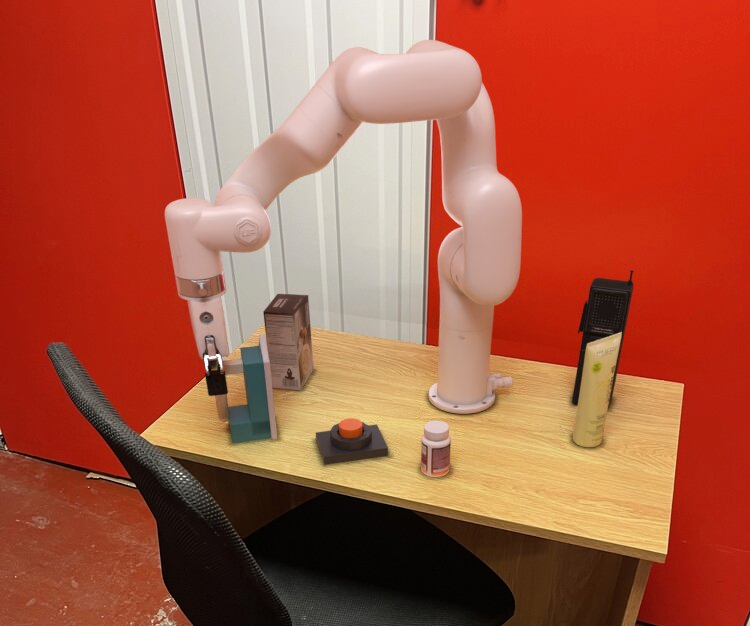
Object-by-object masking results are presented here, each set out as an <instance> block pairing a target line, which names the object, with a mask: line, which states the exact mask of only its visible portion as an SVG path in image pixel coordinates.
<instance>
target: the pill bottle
mask: <svg viewBox="0 0 750 626" xmlns="http://www.w3.org/2000/svg"><path fill="white" fill-rule="evenodd" d="M449 434H450V425H449V423H448V422H445V421H443V420H439V419H438V420H437V419H435V420H430V421H427V422H426V423H424V426H423V435H422V436H421V438H420V471H421V472H422V474H424V475H425V476H426V477H430V478H442V477H444V476H446V475H447V474H449V471H450V466H451V447H452V446H451V445H452V439H451V436H450V435H449Z"/></svg>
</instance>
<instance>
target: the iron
mask: <svg viewBox="0 0 750 626" xmlns="http://www.w3.org/2000/svg"><path fill="white" fill-rule="evenodd" d="M239 350H240V358H235V359H225V360H222V365H223V371H225V375H226V376H229V375H238V374H243V383H244V390H245V397H246V404H239V405H231V406H229V400H228V393H227V394H224V395H216V396H214V399H215V405H216V411H217V418H218V420H219V421H220V422H221V423H222V422H223V423H226V422H228V424H229V428H230V434H231V435H230V436H231V441H232V444H239V443H247V442H254V441H262V440H270V439H271V440H272V441H273V440H278V431H277V421H276V409H275V402H274V401H275V399H274V392H273V391H274V390H273V388H272V380H271V371H270V362H269V356H268V350H267V341H266V334H260V335H258V345H251V346H243V347H240V348H239ZM217 362H219V361H218V359H217ZM208 363H210V362H209V360H208ZM204 370H206V368H205V367H204Z"/></svg>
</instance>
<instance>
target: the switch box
mask: <svg viewBox="0 0 750 626" xmlns="http://www.w3.org/2000/svg"><path fill="white" fill-rule="evenodd" d="M361 422H362V428H363V433H362V435H361V436H359V437H357V438H344V437H342V436H340V434H339V423H340V422H338V423H336V424H334V425H332V427H331V429H329V430H323V431H317V432H315V441H316V444H317V448H318V450H319V453H320V456H321V459H322V462H323V465H324V466H326V465H334V464H335V465H336V464H341V463H348V462H355V461H363V460H369V459H376V458H385V457H388V456H389V447H388V445H387V443H386V440H385V439H384V436H383V434H382V432H381V430H380V428H379V426H378V424H377V423H375V424H367V423H365V422H363V421H361Z"/></svg>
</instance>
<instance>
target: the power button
mask: <svg viewBox="0 0 750 626" xmlns="http://www.w3.org/2000/svg"><path fill="white" fill-rule="evenodd" d="M362 422H363V421H361V420H360V419H358V418H353V417H347V418H345V419H342V420H340V421H339V422H338V423H339V434H340V436H342V437H344V438H357V437H359V436H361V435H362V433H363V428H362Z"/></svg>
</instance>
